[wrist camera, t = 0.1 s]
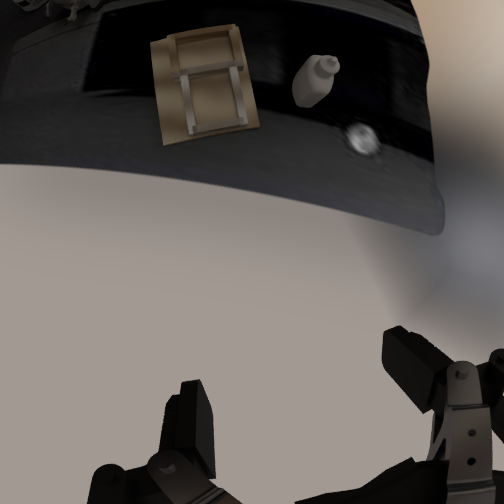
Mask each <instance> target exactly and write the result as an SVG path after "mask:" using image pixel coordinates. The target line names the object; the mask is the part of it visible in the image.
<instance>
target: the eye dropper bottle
mask: <svg viewBox="0 0 504 504" xmlns="http://www.w3.org/2000/svg"><path fill="white" fill-rule="evenodd" d="M339 68H340V65H339V62H338V59H337V58H336V57H332V56H328V55H326V56H319V55H312V56H311V57H309V59H308V60H307V61H306V62H305V63H304V65H303V66H302V67H301V69H300V70H299V71H298V72H297V74H296V75H295V77H294V80H293V84H292V93H293V98H294V100H295V103H296V105H297V106H299V107H306V108H310V107H312V106H313V105H315V104H316V103H317V102H318V101H320V100H321V99H322V98H323V97H325V96H326V95H327V94H328V93H329V92H330V90H331V88H332V84H333V79H334V74H335V73H336V72H338V70H339Z"/></svg>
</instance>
